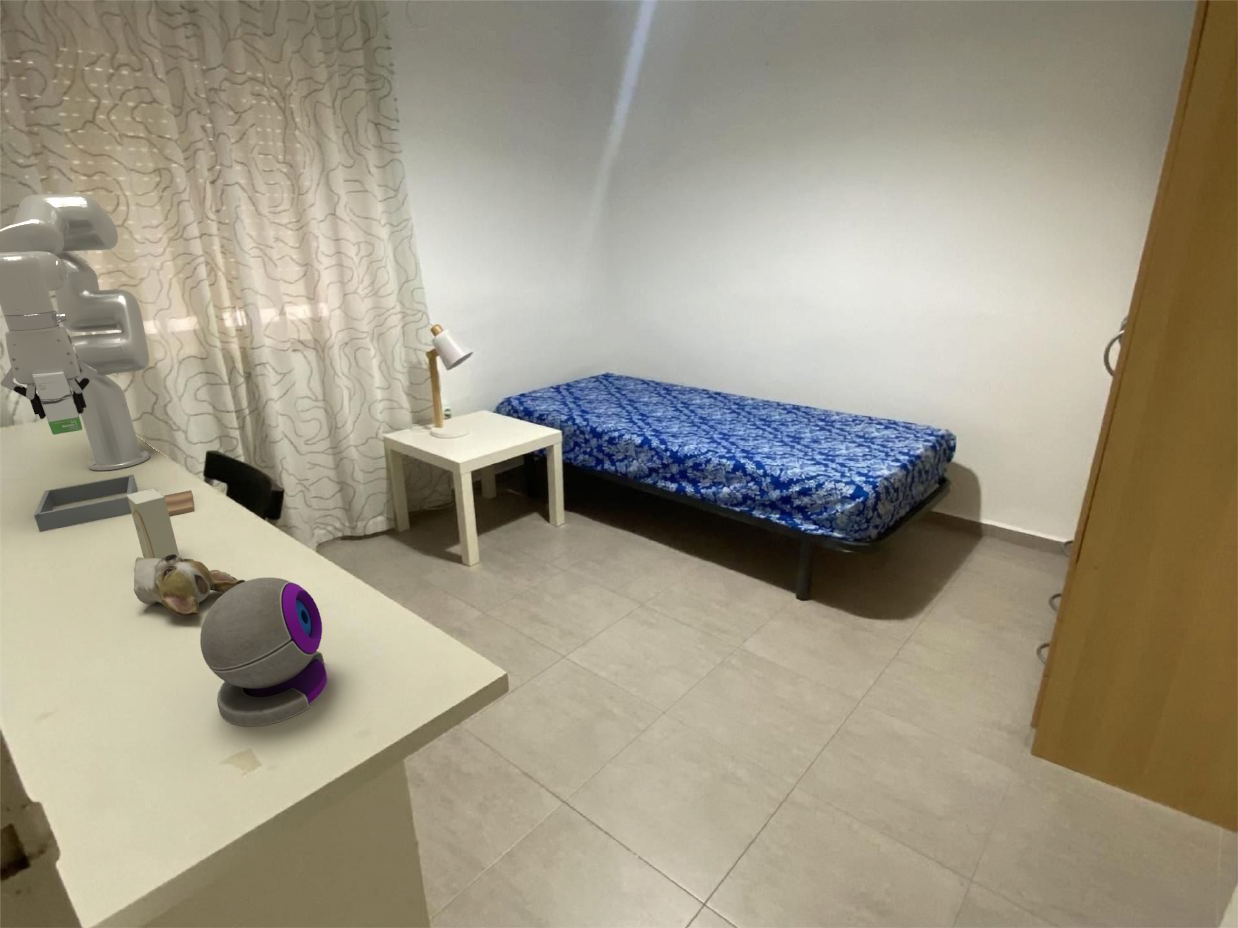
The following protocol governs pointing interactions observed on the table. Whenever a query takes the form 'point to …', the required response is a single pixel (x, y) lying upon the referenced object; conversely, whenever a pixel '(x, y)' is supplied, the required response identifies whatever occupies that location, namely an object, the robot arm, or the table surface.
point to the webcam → (264, 651)
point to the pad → (179, 503)
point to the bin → (86, 512)
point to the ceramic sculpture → (178, 583)
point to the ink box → (57, 402)
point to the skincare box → (152, 524)
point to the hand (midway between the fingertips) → (62, 413)
